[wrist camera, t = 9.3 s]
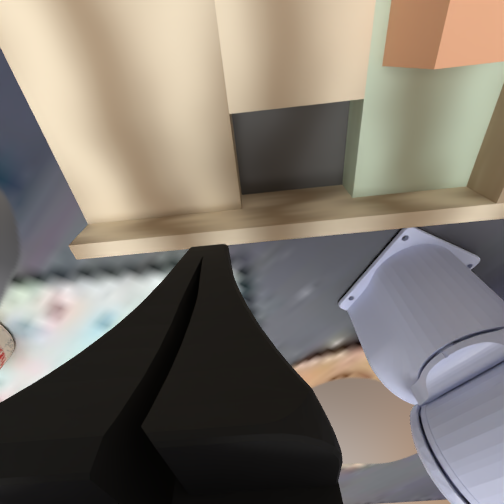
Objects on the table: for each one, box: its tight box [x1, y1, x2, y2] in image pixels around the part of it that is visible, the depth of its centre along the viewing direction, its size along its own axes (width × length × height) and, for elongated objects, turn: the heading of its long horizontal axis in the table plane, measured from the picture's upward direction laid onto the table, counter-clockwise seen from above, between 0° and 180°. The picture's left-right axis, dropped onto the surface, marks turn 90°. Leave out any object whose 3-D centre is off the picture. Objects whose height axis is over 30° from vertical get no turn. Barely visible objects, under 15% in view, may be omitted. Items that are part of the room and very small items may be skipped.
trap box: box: [0, 0, 504, 259], centre depth 12 cm, size 25×20×5 cm
